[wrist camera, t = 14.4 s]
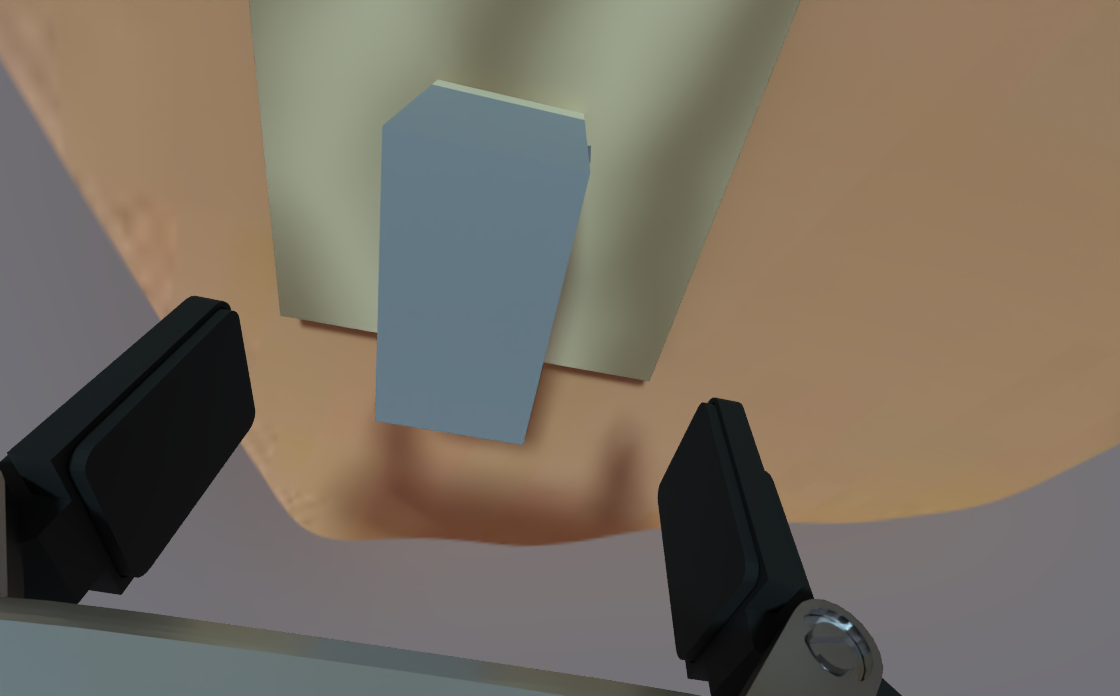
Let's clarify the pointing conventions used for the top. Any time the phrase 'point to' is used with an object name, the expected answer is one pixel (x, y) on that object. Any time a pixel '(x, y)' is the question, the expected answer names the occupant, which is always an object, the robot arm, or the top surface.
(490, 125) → the block
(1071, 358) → the top surface
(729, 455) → the robot arm
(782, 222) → the top surface
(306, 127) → the board
